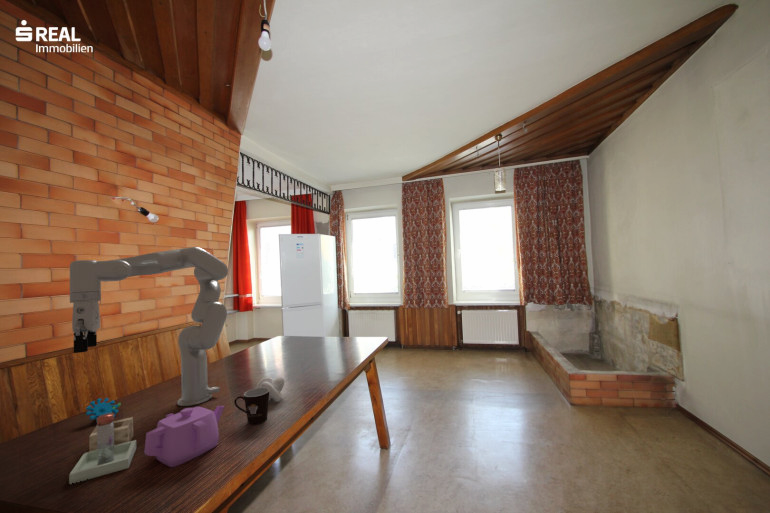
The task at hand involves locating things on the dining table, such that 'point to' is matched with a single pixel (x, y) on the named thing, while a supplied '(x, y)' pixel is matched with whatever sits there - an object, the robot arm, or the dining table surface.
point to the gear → (102, 408)
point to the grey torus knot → (272, 387)
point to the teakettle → (184, 435)
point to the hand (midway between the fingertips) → (85, 349)
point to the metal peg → (105, 438)
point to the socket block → (115, 433)
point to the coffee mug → (255, 405)
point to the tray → (90, 469)
